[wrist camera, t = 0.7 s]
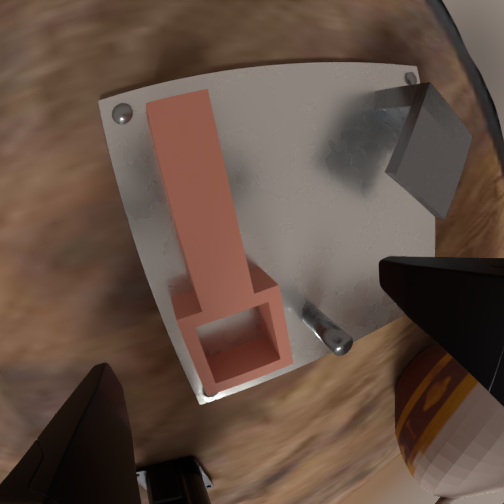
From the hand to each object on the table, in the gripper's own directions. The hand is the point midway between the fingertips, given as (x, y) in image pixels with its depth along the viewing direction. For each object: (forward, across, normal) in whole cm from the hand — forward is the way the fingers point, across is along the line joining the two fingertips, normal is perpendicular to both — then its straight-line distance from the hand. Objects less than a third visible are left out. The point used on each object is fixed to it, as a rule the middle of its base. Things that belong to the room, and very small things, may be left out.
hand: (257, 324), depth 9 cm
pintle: (+11, -6, +8) cm, 15 cm away
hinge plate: (+11, -8, +2) cm, 14 cm away
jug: (+11, -19, +24) cm, 33 cm away
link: (+11, 0, +1) cm, 11 cm away
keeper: (+11, -16, -2) cm, 19 cm away
